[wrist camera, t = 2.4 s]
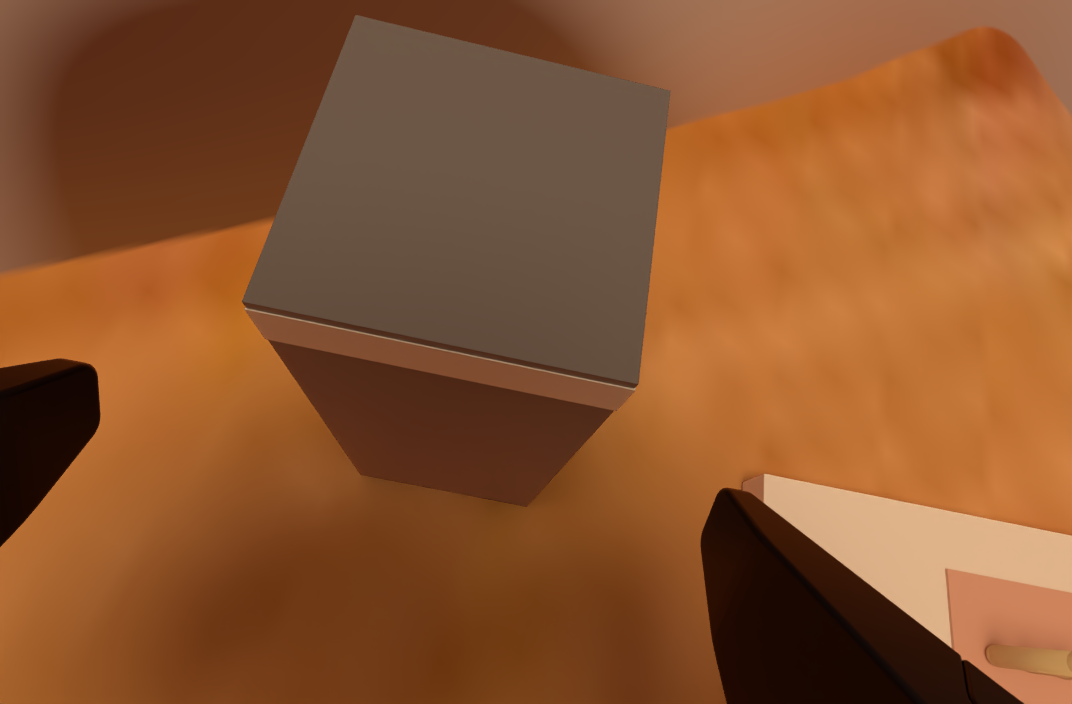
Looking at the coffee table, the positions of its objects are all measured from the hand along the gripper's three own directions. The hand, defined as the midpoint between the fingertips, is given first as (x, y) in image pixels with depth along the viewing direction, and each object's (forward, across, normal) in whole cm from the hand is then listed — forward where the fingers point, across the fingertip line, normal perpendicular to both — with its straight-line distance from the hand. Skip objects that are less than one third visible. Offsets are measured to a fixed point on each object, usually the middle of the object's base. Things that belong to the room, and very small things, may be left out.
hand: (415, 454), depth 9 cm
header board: (+7, -18, +8) cm, 21 cm away
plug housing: (+10, 0, +5) cm, 11 cm away
